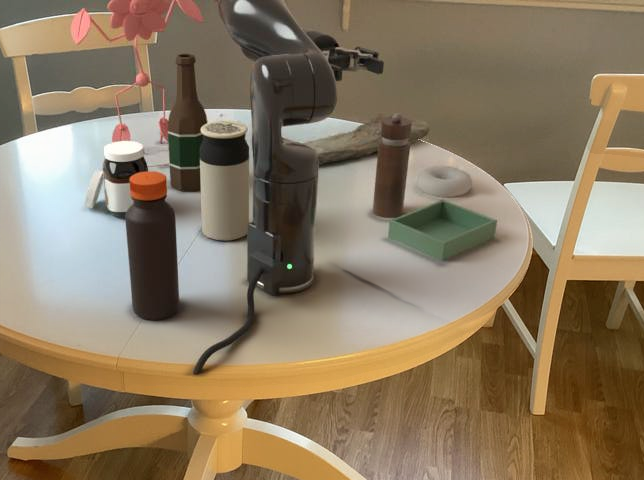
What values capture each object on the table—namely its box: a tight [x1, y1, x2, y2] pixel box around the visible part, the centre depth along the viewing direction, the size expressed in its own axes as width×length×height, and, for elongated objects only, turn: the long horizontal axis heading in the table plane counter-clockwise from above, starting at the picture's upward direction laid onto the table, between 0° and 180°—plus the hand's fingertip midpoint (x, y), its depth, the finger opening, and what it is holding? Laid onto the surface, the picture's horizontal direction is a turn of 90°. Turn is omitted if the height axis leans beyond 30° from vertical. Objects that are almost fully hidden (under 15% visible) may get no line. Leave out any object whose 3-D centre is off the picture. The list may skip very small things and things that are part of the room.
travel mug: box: [200, 120, 250, 242], centre depth 139 cm, size 8×8×18 cm
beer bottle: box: [167, 53, 208, 192], centre depth 155 cm, size 8×8×24 cm
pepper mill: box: [372, 112, 412, 219], centre depth 143 cm, size 5×5×18 cm
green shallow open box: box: [387, 199, 498, 262], centre depth 138 cm, size 13×11×4 cm
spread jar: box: [84, 140, 149, 219], centre depth 149 cm, size 12×11×12 cm
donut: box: [415, 165, 473, 198], centre depth 156 cm, size 10×3×10 cm
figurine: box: [70, 0, 204, 168], centre depth 166 cm, size 15×26×35 cm, turn 111°
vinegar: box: [124, 170, 180, 321], centre depth 117 cm, size 7×7×20 cm
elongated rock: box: [302, 112, 430, 165], centre depth 174 cm, size 35×5×10 cm
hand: (361, 71), depth 144 cm, fingers open, 8 cm apart
